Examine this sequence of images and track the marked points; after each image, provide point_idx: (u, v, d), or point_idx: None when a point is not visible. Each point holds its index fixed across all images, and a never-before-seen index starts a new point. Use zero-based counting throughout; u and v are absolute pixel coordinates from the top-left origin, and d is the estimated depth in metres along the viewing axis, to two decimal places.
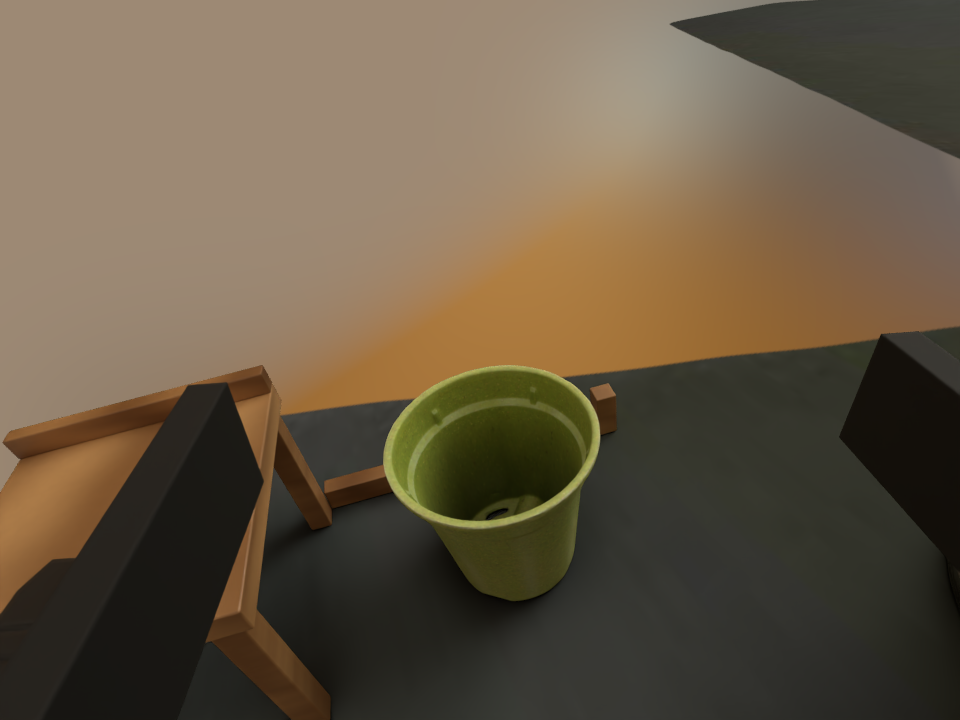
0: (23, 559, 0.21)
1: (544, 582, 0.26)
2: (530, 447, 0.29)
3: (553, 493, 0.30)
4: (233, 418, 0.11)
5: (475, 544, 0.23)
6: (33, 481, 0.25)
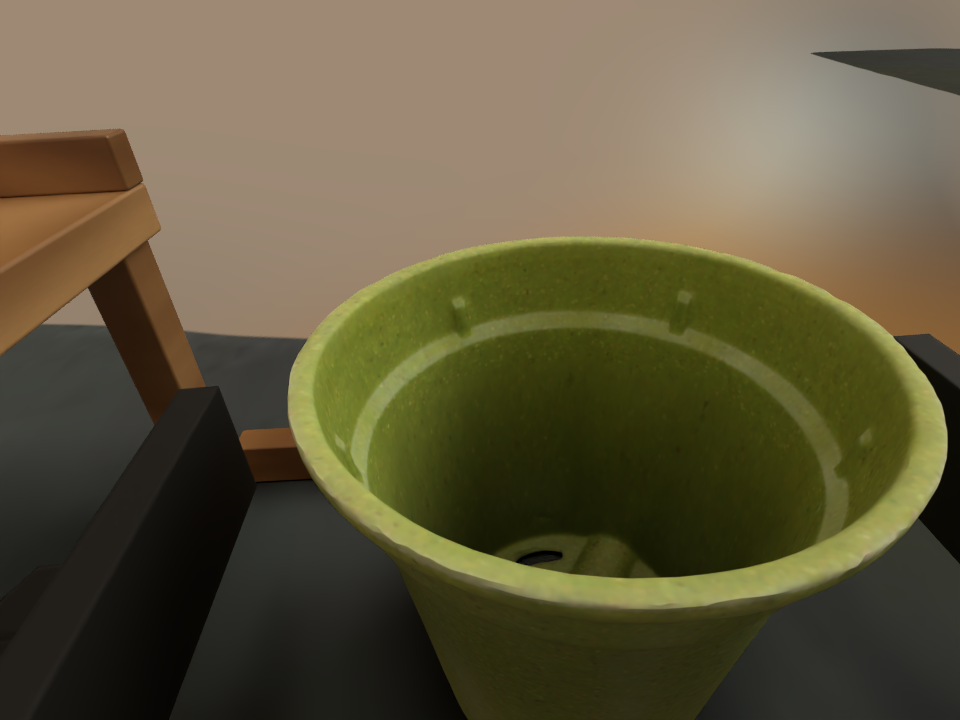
0: None
1: None
2: (642, 434, 0.14)
3: (667, 543, 0.14)
4: (224, 422, 0.11)
5: (493, 635, 0.07)
6: None
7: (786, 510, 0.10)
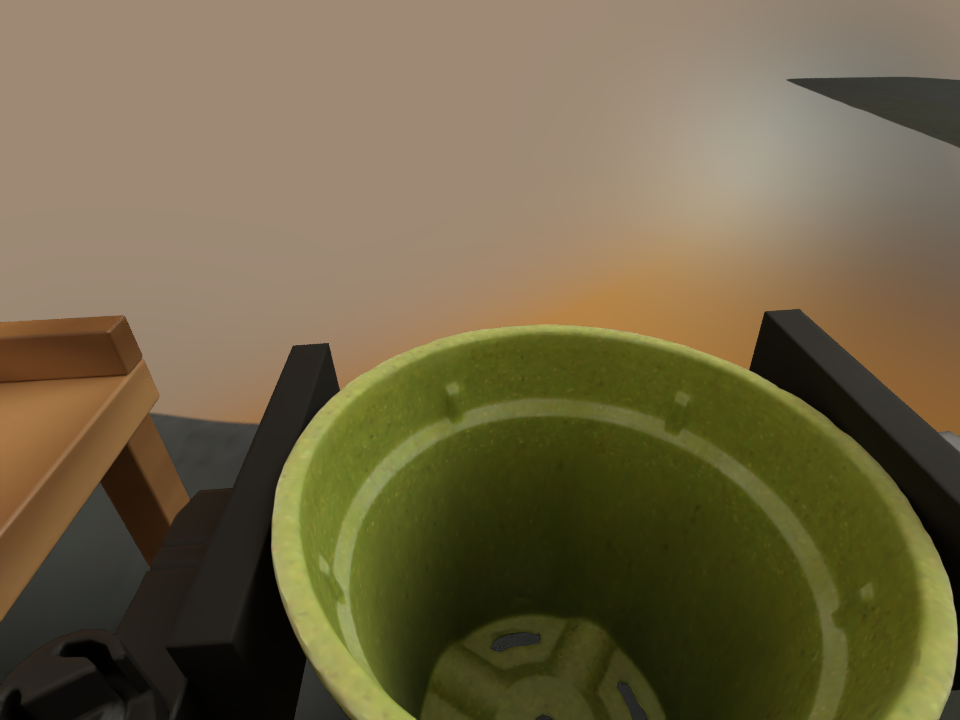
0: None
1: None
2: (630, 527, 0.13)
3: (648, 636, 0.14)
4: (332, 376, 0.12)
5: None
6: None
7: (777, 640, 0.10)
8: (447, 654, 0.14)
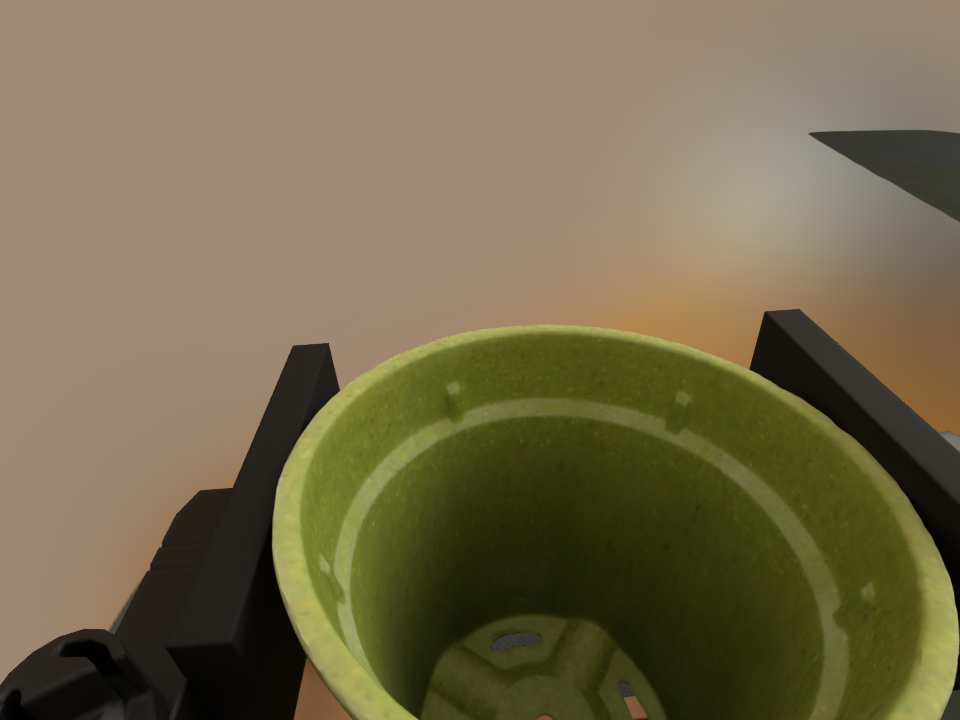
0: None
1: None
2: (630, 526, 0.13)
3: (648, 636, 0.14)
4: (332, 376, 0.12)
5: None
6: None
7: (778, 640, 0.10)
8: (448, 654, 0.14)
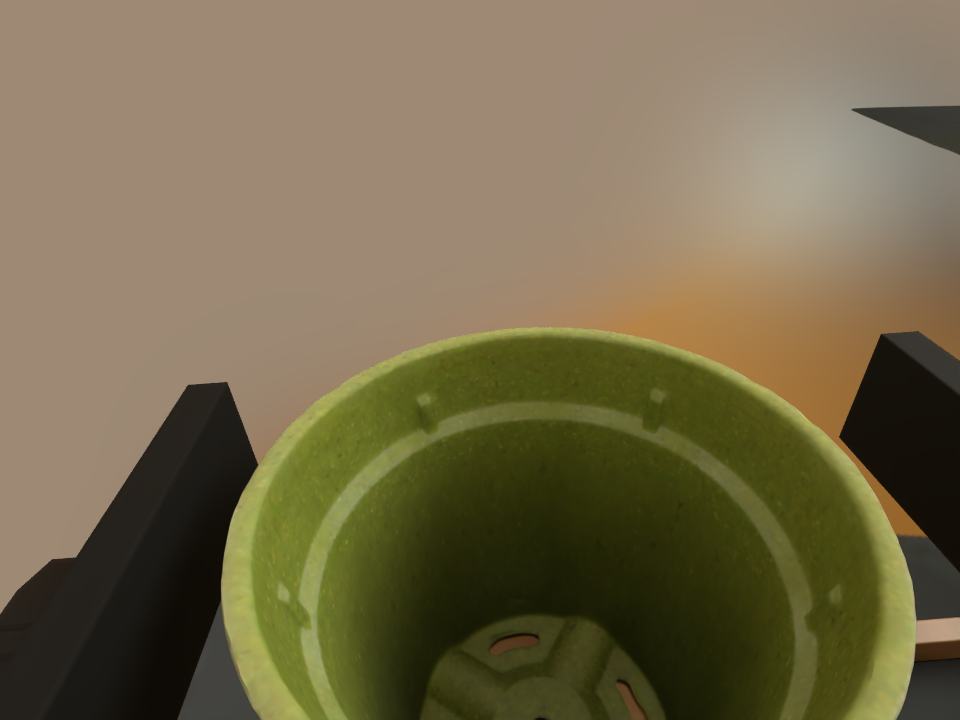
0: None
1: None
2: (617, 525, 0.13)
3: (644, 634, 0.14)
4: (233, 418, 0.11)
5: None
6: None
7: (757, 641, 0.09)
8: (445, 659, 0.14)
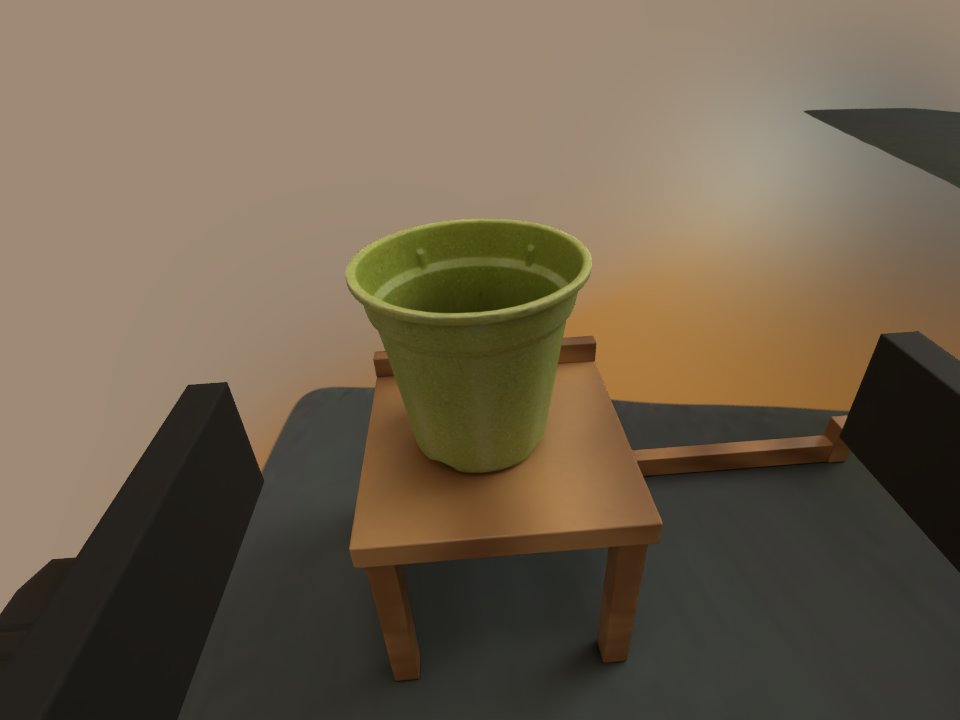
0: None
1: (499, 452, 0.23)
2: None
3: None
4: (233, 418, 0.11)
5: (425, 363, 0.20)
6: None
7: (560, 336, 0.22)
8: None
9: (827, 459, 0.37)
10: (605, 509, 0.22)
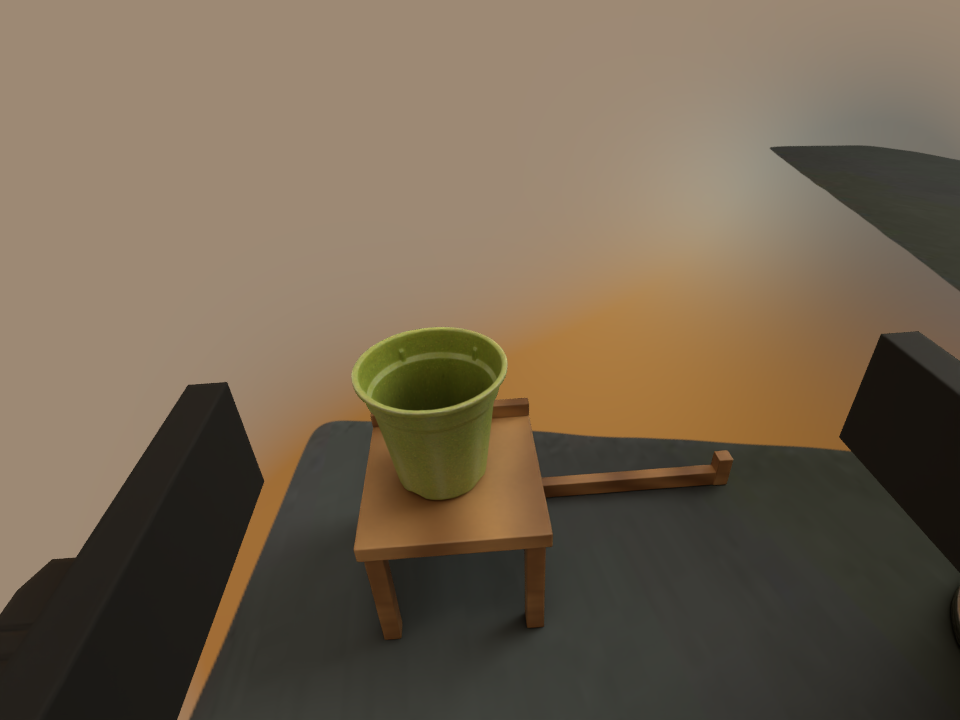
0: None
1: (451, 487, 0.35)
2: (468, 395, 0.38)
3: None
4: (233, 418, 0.11)
5: (400, 434, 0.32)
6: None
7: (490, 412, 0.35)
8: None
9: (713, 482, 0.49)
10: (517, 525, 0.34)
